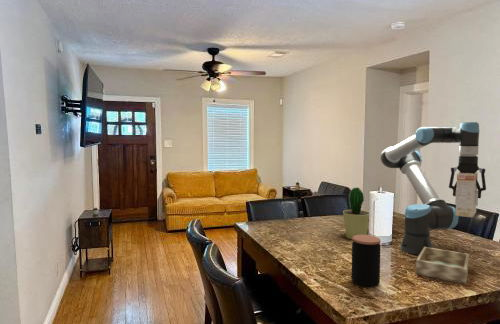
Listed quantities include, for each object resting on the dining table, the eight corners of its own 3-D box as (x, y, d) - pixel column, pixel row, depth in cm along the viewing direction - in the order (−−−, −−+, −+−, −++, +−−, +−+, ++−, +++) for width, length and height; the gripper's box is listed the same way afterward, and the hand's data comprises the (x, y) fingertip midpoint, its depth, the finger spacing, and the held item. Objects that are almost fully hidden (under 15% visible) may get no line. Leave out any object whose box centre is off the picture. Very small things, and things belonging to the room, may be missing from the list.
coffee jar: (373, 277, 139) (374, 234, 138) (384, 288, 128) (385, 242, 127) (347, 277, 138) (348, 234, 137) (356, 288, 128) (357, 242, 126)
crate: (415, 274, 142) (416, 260, 141) (423, 259, 160) (424, 246, 159) (466, 284, 131) (466, 269, 131) (468, 267, 149) (469, 254, 149)
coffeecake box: (459, 210, 165) (461, 171, 164) (476, 212, 161) (478, 171, 159) (454, 215, 154) (456, 173, 152) (473, 217, 149) (475, 174, 148)
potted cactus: (365, 242, 185) (366, 189, 183) (338, 237, 195) (339, 186, 193) (373, 236, 198) (374, 186, 196) (348, 232, 207) (349, 184, 205)
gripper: (442, 155, 158) (440, 203, 160) (495, 156, 147) (492, 207, 148) (444, 154, 164) (442, 200, 166) (494, 155, 153) (492, 205, 154)
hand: (466, 204), depth 157 cm, fingers closed on coffeecake box, 7 cm apart
